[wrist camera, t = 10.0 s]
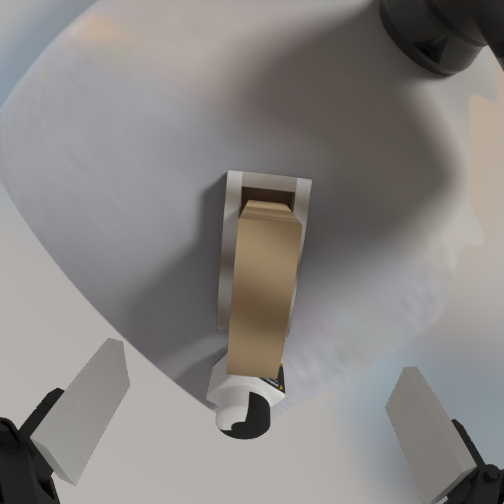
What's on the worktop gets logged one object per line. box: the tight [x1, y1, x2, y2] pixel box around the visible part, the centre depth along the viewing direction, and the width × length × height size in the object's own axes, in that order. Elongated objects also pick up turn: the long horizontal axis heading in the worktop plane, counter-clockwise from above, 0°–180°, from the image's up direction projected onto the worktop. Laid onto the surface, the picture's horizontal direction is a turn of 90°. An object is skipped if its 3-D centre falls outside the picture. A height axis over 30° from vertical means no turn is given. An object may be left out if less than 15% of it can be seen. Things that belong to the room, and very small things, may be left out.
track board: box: [216, 170, 312, 337], centre depth 32 cm, size 18×9×4 cm, turn 174°
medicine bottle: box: [206, 354, 285, 439], centre depth 32 cm, size 7×7×12 cm
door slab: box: [226, 200, 303, 379], centre depth 26 cm, size 12×4×14 cm, turn 174°
